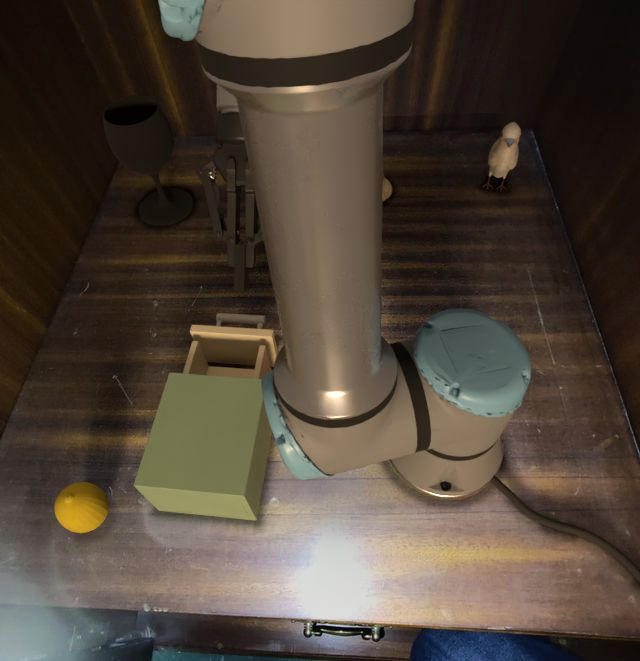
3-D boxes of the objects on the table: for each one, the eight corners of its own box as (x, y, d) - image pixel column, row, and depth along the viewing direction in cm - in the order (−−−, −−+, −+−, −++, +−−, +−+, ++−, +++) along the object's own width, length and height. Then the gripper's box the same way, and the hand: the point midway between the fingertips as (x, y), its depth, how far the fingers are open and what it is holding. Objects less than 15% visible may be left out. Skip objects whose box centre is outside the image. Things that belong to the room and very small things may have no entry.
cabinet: (188, 406, 73) (169, 372, 65) (275, 413, 72) (266, 379, 64) (158, 510, 65) (132, 485, 57) (256, 520, 64) (244, 496, 56)
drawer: (210, 331, 80) (199, 300, 73) (283, 336, 78) (278, 305, 72) (180, 439, 69) (164, 413, 63) (264, 446, 68) (255, 421, 62)
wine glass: (127, 216, 97) (83, 119, 81) (161, 183, 102) (126, 86, 86) (171, 233, 94) (135, 135, 78) (204, 198, 99) (176, 100, 83)
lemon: (121, 493, 66) (97, 471, 60) (113, 538, 63) (86, 520, 57) (79, 495, 67) (50, 474, 60) (68, 540, 63) (36, 523, 57)
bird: (476, 209, 94) (495, 136, 82) (485, 163, 101) (504, 90, 89) (504, 213, 93) (527, 140, 81) (510, 167, 100) (533, 93, 88)
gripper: (296, 123, 73) (290, 290, 77) (206, 121, 74) (205, 285, 78) (287, 110, 65) (281, 295, 70) (187, 108, 67) (187, 290, 71)
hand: (241, 290), depth 74 cm, fingers closed
